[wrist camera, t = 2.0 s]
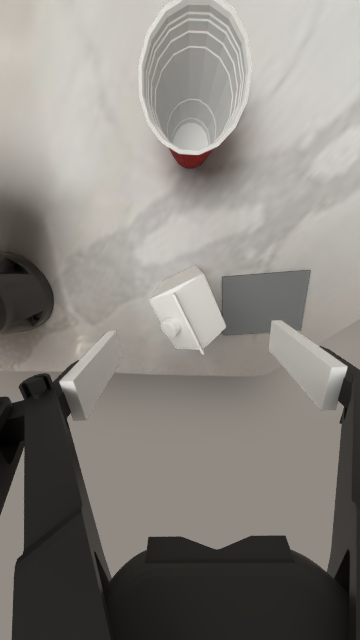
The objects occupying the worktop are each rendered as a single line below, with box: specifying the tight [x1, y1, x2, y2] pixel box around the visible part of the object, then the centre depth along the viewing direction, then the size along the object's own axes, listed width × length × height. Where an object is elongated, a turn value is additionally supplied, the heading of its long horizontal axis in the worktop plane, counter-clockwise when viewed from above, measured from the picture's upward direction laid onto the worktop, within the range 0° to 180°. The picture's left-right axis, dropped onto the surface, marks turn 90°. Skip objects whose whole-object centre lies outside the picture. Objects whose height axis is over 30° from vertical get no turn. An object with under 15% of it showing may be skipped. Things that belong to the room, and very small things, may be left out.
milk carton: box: [149, 265, 226, 355], centre depth 27 cm, size 7×7×19 cm
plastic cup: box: [138, 0, 252, 168], centre depth 23 cm, size 11×11×12 cm
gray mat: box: [222, 270, 311, 335], centre depth 36 cm, size 16×12×1 cm
